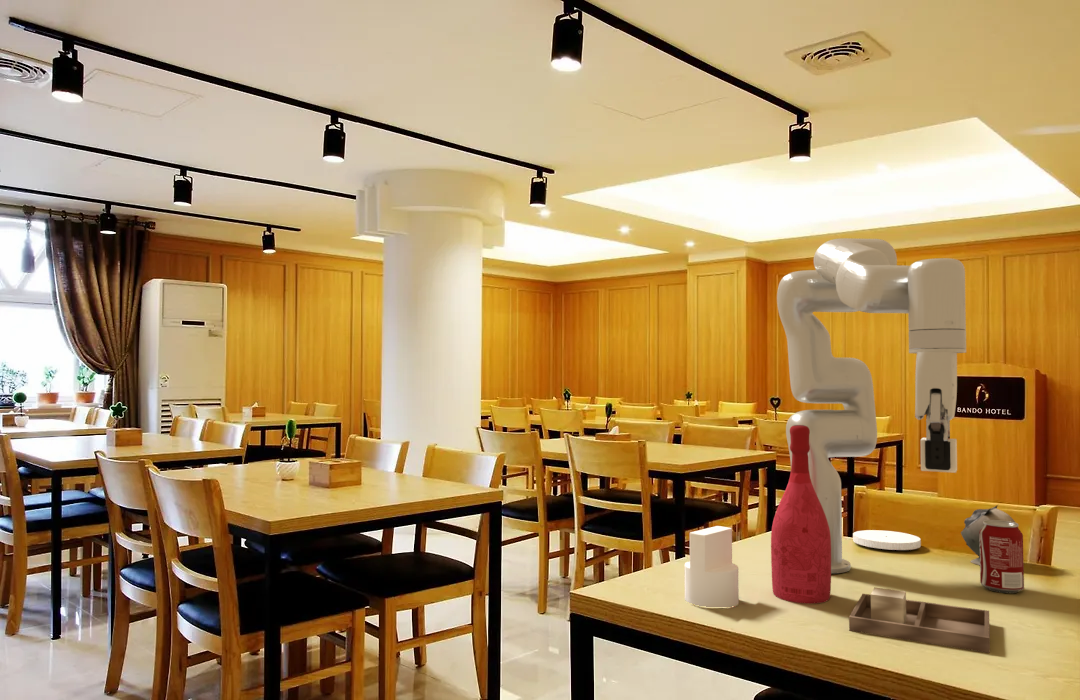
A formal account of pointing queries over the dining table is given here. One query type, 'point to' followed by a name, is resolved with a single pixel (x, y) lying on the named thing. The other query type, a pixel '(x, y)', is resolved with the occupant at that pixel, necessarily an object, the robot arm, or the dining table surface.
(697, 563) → the cylinder with rectangular tab
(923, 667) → the dining table surface
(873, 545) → the plastic lid
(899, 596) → the plain cube
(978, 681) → the dining table surface
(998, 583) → the soda can
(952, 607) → the organiser
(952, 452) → the letter cube
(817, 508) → the wine bottle
